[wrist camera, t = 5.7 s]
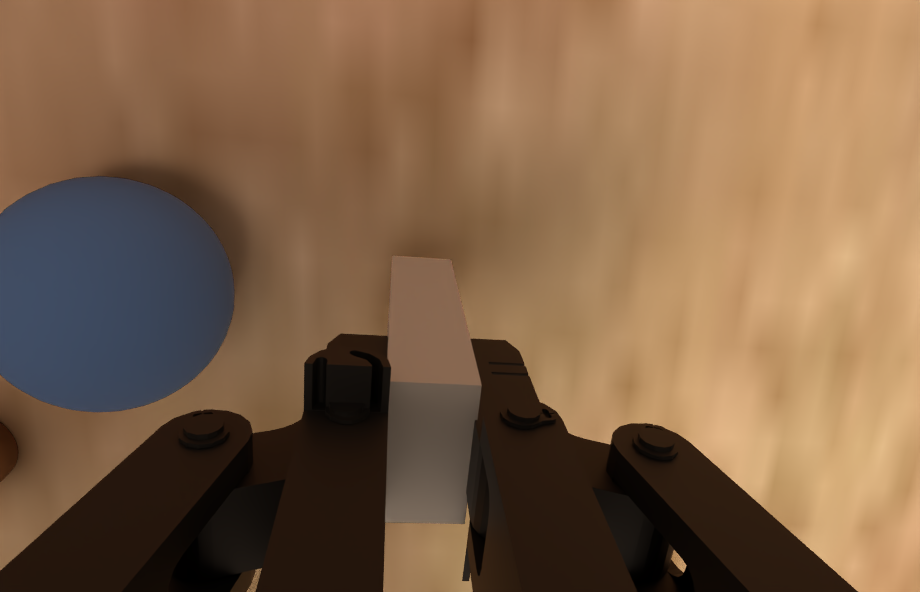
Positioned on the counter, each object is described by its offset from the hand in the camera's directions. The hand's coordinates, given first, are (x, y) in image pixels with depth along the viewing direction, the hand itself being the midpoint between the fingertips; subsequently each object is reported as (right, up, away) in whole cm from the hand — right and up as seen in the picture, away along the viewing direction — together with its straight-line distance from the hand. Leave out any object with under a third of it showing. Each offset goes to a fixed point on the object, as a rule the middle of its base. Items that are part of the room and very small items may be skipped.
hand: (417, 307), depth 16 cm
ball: (-7, 0, -1) cm, 7 cm away
